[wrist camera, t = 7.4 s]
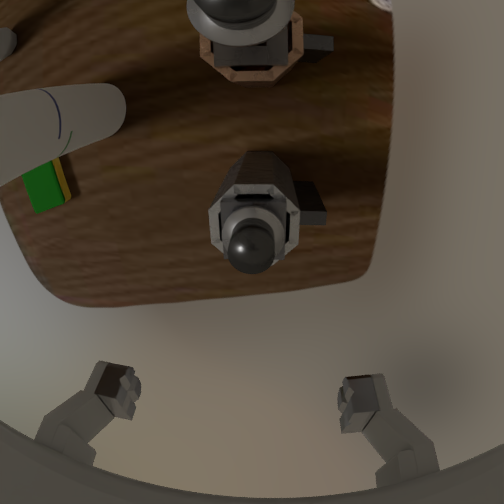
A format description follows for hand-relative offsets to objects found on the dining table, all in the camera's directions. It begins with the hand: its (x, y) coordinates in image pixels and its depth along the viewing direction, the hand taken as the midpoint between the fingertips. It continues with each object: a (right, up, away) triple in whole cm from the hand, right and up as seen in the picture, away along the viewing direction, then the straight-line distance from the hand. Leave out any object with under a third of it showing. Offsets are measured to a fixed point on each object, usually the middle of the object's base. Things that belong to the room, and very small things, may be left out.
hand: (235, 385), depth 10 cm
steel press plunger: (+1, +11, +19) cm, 22 cm away
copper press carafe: (+2, +25, +15) cm, 30 cm away
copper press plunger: (+1, +20, +7) cm, 21 cm away
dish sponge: (-30, +18, +22) cm, 41 cm away
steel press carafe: (+3, +13, +22) cm, 26 cm away
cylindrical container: (-18, +22, +19) cm, 34 cm away
